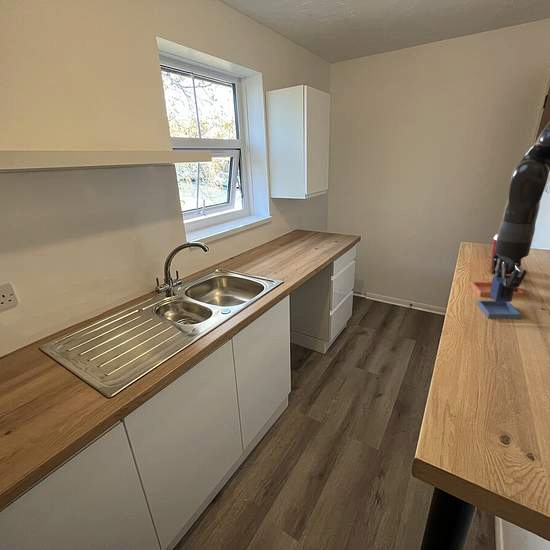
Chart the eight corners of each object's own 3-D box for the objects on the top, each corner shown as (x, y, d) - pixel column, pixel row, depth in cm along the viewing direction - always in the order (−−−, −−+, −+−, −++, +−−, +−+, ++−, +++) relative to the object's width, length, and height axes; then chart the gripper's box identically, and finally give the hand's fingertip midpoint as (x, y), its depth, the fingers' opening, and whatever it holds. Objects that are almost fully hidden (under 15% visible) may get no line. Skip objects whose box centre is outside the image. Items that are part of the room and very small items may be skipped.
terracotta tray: (509, 286, 104) (510, 281, 103) (522, 297, 96) (523, 292, 95) (470, 286, 106) (471, 281, 106) (479, 297, 99) (480, 292, 98)
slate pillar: (504, 295, 89) (508, 276, 87) (511, 301, 86) (515, 282, 83) (489, 295, 90) (493, 277, 88) (495, 301, 87) (499, 282, 84)
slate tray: (506, 306, 93) (507, 300, 92) (520, 320, 85) (522, 314, 84) (476, 305, 94) (477, 300, 94) (487, 319, 87) (489, 313, 86)
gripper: (547, 245, 74) (529, 306, 80) (516, 230, 86) (503, 284, 93) (512, 245, 75) (497, 305, 82) (487, 230, 88) (476, 283, 95)
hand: (501, 293), depth 87 cm, fingers closed on slate pillar, 4 cm apart
